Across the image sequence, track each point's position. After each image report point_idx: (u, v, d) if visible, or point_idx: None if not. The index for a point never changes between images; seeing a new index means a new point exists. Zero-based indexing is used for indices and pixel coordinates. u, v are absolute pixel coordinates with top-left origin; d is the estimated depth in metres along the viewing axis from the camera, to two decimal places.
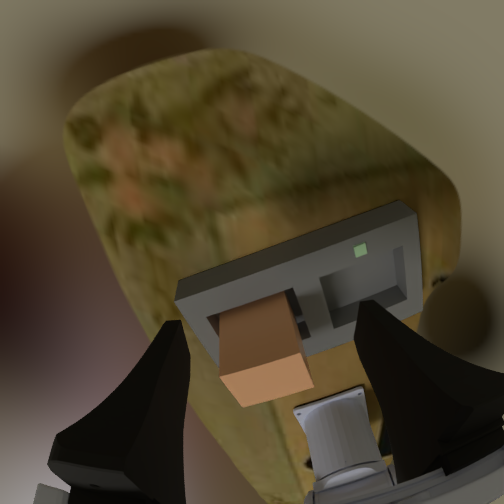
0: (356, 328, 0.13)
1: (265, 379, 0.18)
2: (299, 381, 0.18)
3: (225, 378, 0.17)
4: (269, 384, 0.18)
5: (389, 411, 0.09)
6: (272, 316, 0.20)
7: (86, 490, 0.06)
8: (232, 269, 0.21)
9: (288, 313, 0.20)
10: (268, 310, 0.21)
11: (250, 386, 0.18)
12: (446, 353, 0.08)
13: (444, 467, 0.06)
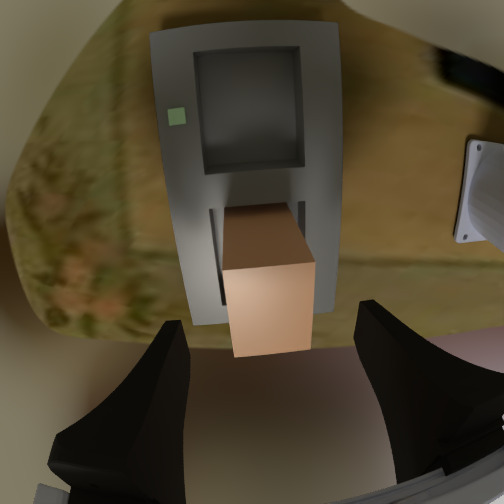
0: (356, 328, 0.13)
1: (261, 318, 0.13)
2: (289, 279, 0.12)
3: (239, 353, 0.14)
4: (274, 315, 0.13)
5: (389, 411, 0.09)
6: None
7: (86, 490, 0.06)
8: None
9: (223, 233, 0.15)
10: None
11: (267, 334, 0.14)
12: (446, 353, 0.08)
13: (444, 467, 0.06)
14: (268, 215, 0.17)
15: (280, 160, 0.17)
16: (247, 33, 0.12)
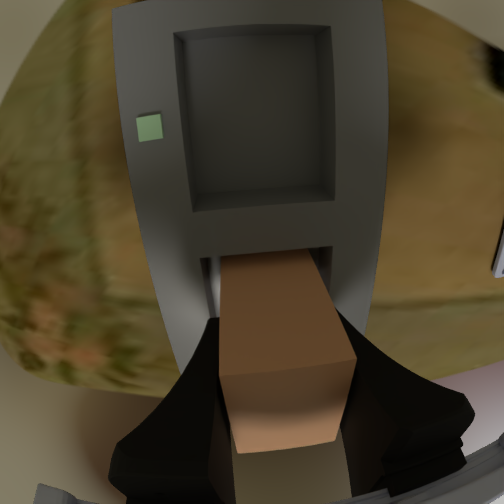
0: None
1: (275, 420, 0.09)
2: (317, 381, 0.08)
3: (244, 450, 0.10)
4: (293, 416, 0.09)
5: (344, 422, 0.09)
6: None
7: (145, 499, 0.06)
8: None
9: (220, 298, 0.11)
10: None
11: (281, 434, 0.09)
12: (399, 366, 0.08)
13: (389, 488, 0.06)
14: (282, 265, 0.12)
15: (297, 185, 0.13)
16: (254, 5, 0.08)
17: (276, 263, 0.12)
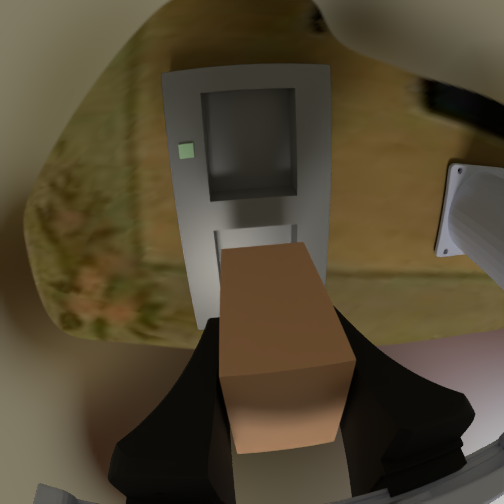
0: None
1: (274, 421, 0.09)
2: (317, 382, 0.08)
3: (244, 450, 0.10)
4: (292, 417, 0.09)
5: (344, 422, 0.09)
6: None
7: (145, 499, 0.06)
8: None
9: (220, 299, 0.11)
10: None
11: (281, 434, 0.09)
12: (399, 366, 0.08)
13: (389, 488, 0.06)
14: (281, 266, 0.12)
15: (276, 186, 0.20)
16: (248, 76, 0.15)
17: (276, 264, 0.12)
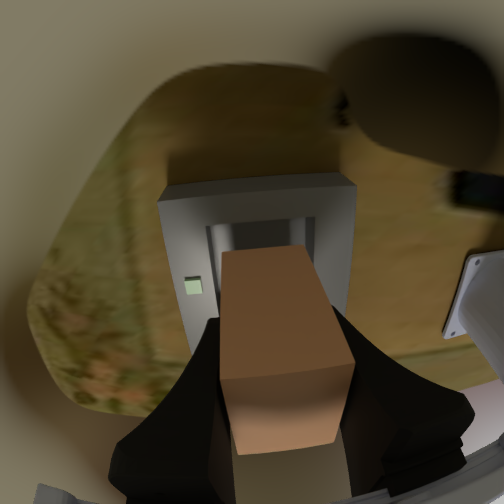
0: None
1: (274, 422, 0.09)
2: (316, 384, 0.08)
3: (244, 451, 0.10)
4: (292, 419, 0.09)
5: (344, 422, 0.09)
6: None
7: (145, 499, 0.06)
8: None
9: None
10: None
11: (281, 435, 0.09)
12: (399, 366, 0.08)
13: (389, 488, 0.06)
14: (281, 269, 0.12)
15: None
16: (261, 205, 0.14)
17: (276, 267, 0.12)
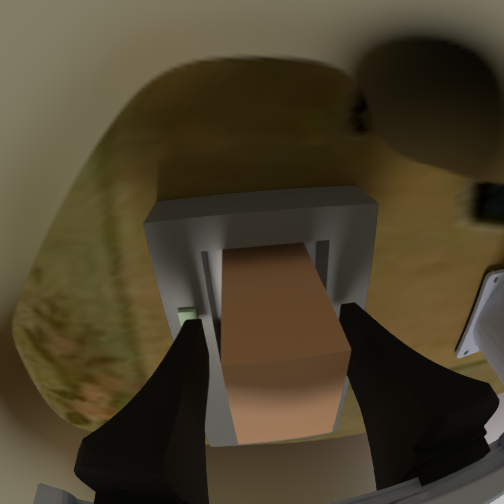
0: None
1: (274, 410, 0.09)
2: (314, 371, 0.09)
3: (244, 440, 0.10)
4: (291, 406, 0.09)
5: (369, 416, 0.09)
6: None
7: (112, 495, 0.06)
8: None
9: (221, 293, 0.11)
10: None
11: (280, 424, 0.10)
12: (426, 359, 0.08)
13: (420, 477, 0.06)
14: (280, 262, 0.13)
15: None
16: (267, 228, 0.12)
17: (275, 260, 0.13)
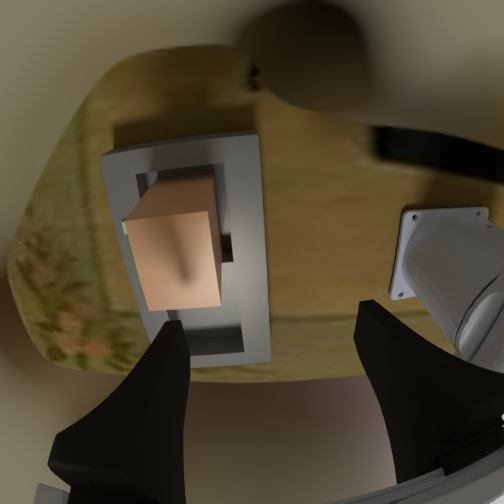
0: (356, 328, 0.13)
1: (166, 269, 0.14)
2: (185, 229, 0.13)
3: (153, 306, 0.15)
4: (177, 266, 0.14)
5: (389, 411, 0.09)
6: None
7: (86, 490, 0.06)
8: None
9: (143, 196, 0.16)
10: None
11: (174, 287, 0.14)
12: (446, 353, 0.08)
13: (444, 467, 0.06)
14: (190, 181, 0.17)
15: None
16: (177, 155, 0.16)
17: (187, 180, 0.17)
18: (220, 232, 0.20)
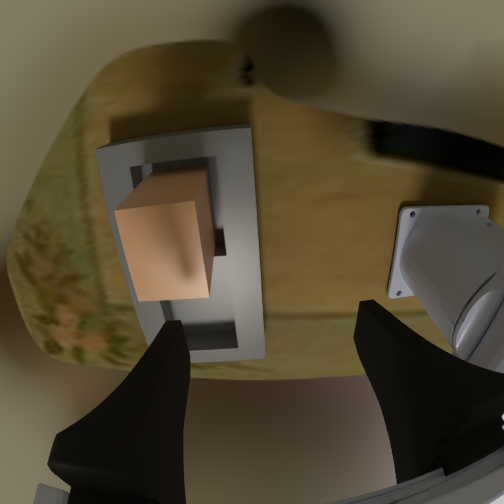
0: (356, 328, 0.13)
1: (154, 259, 0.14)
2: (172, 219, 0.13)
3: (142, 297, 0.15)
4: (165, 256, 0.14)
5: (389, 411, 0.09)
6: None
7: (86, 490, 0.06)
8: None
9: None
10: None
11: (163, 277, 0.14)
12: (446, 353, 0.08)
13: (444, 467, 0.06)
14: (183, 174, 0.17)
15: None
16: (171, 148, 0.16)
17: (180, 173, 0.17)
18: (214, 226, 0.20)
